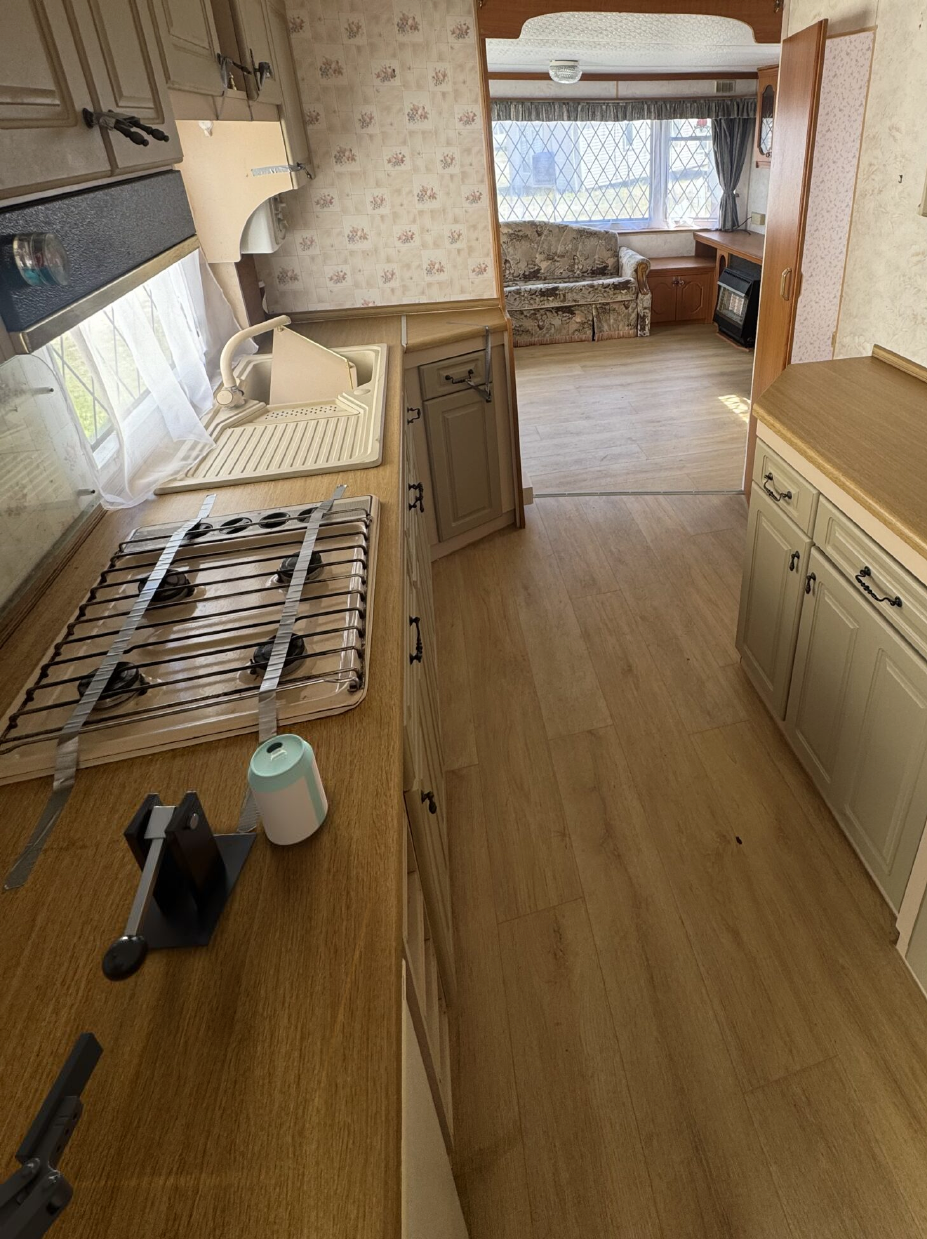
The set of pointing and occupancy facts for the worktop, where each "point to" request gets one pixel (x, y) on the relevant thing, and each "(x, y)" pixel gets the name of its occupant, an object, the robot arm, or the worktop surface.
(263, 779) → the can
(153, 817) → the tap lever
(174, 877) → the lever stand
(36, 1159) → the robot arm
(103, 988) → the worktop surface
